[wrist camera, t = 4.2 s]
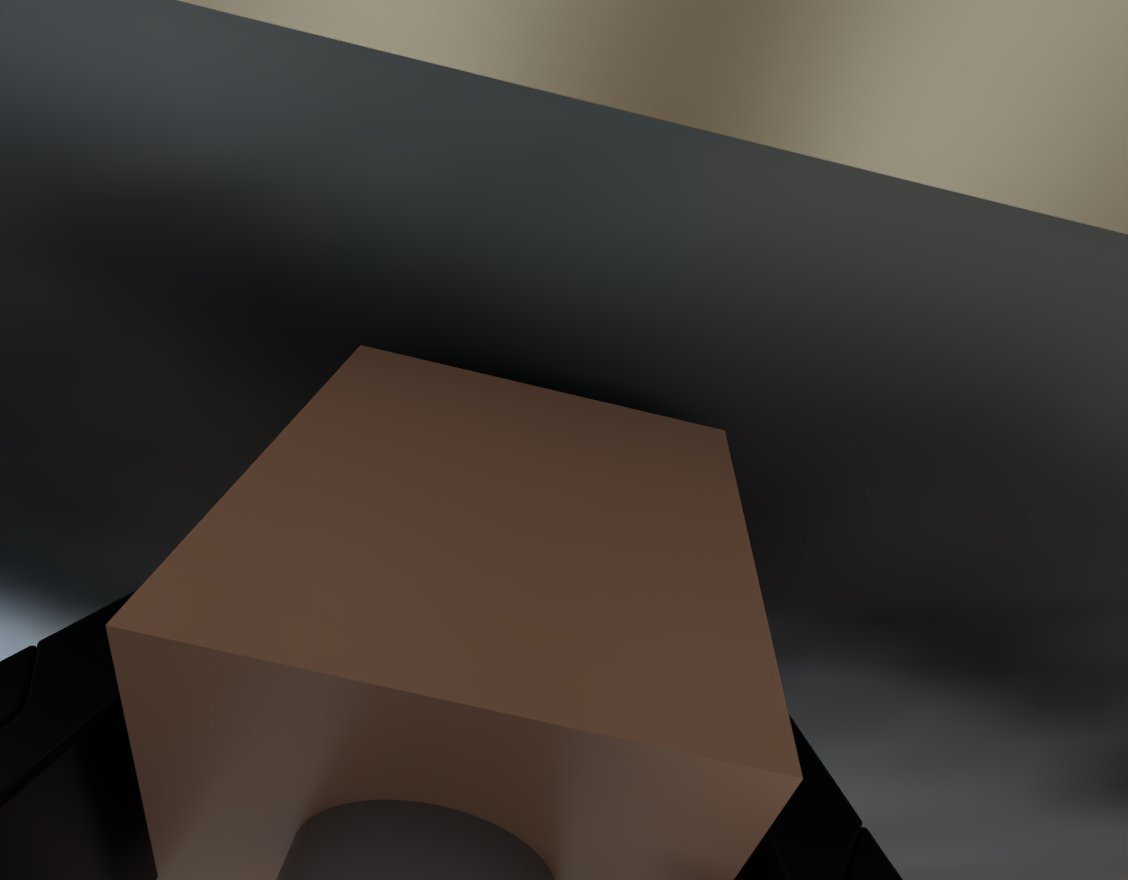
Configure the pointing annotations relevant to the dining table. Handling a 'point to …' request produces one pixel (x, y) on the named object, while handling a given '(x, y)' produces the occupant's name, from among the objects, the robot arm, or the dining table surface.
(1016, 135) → the mounting board
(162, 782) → the brown block with knob
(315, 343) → the dining table surface
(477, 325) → the dining table surface
